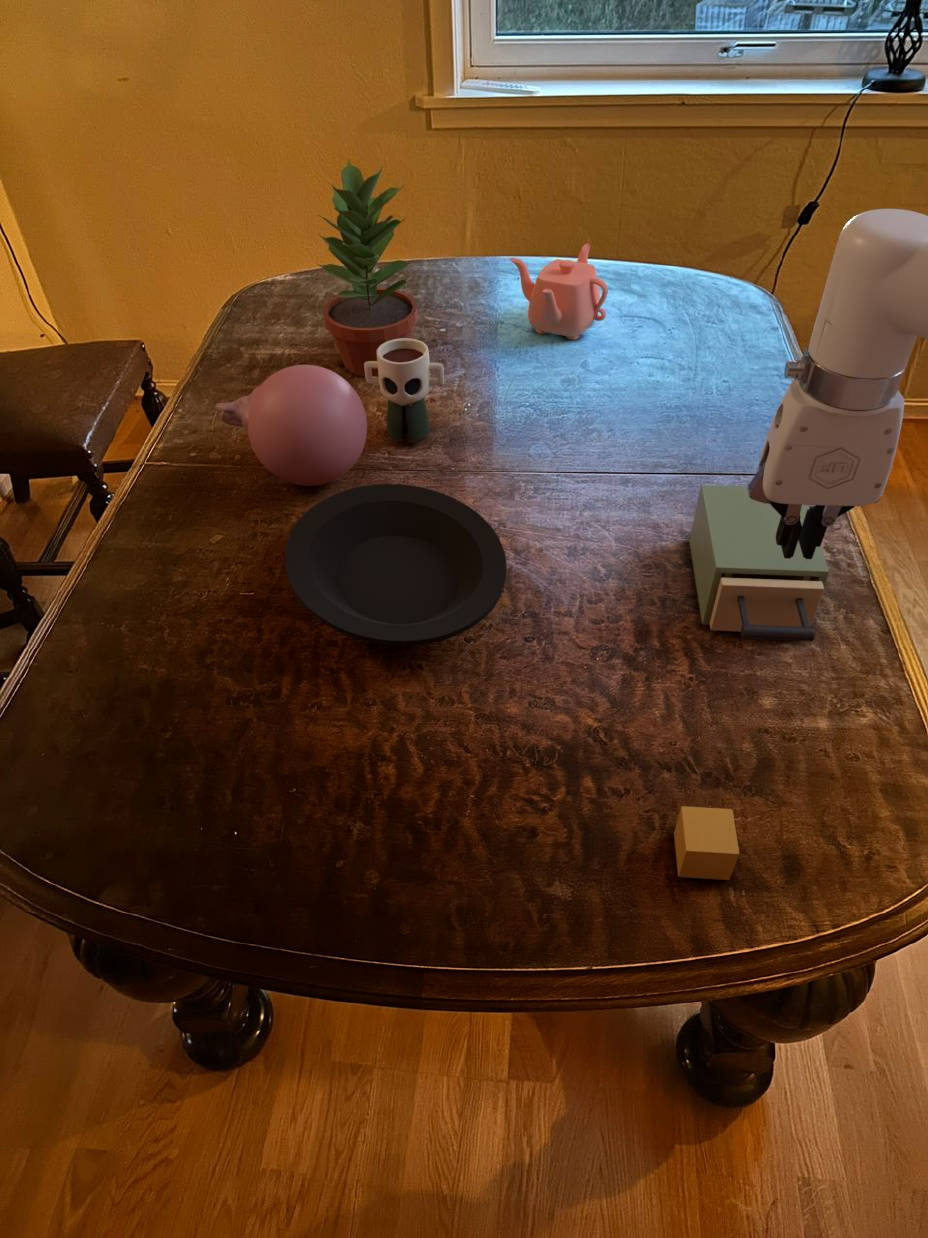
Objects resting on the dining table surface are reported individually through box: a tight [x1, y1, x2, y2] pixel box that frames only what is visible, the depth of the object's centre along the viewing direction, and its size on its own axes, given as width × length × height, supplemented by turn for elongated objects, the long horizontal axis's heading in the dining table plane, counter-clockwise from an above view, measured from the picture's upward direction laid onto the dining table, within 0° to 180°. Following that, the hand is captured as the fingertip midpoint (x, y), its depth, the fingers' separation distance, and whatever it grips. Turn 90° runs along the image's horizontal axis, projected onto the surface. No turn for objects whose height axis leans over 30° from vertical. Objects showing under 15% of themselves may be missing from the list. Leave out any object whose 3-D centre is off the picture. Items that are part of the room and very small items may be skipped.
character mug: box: [364, 338, 445, 443], centre depth 122 cm, size 11×7×13 cm, turn 85°
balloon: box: [214, 364, 368, 487], centre depth 115 cm, size 15×20×15 cm
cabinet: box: [689, 484, 830, 626], centre depth 100 cm, size 15×12×9 cm
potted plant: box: [316, 158, 419, 377], centre depth 131 cm, size 15×15×30 cm
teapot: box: [509, 242, 609, 340], centre depth 145 cm, size 14×14×11 cm
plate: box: [284, 483, 508, 647], centre depth 102 cm, size 28×24×6 cm
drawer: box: [709, 573, 825, 642], centre depth 97 cm, size 19×10×7 cm, turn 175°
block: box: [673, 805, 740, 881], centre depth 77 cm, size 4×4×4 cm
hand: (795, 548), depth 85 cm, fingers closed
